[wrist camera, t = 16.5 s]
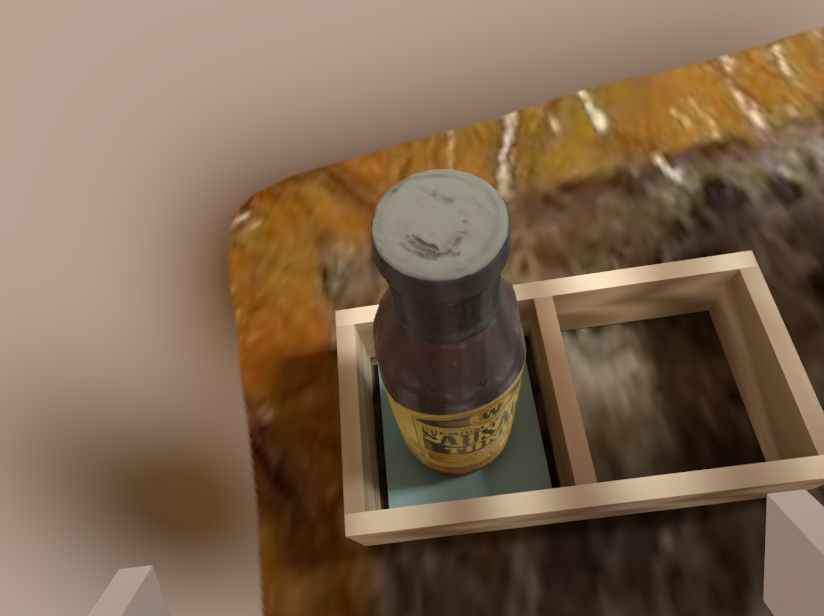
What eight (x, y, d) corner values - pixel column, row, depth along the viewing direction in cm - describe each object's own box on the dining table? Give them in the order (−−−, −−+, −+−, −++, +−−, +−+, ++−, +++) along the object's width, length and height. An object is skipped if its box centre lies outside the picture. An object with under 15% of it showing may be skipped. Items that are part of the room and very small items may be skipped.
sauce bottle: (438, 502, 32) (374, 377, 14) (385, 408, 35) (276, 209, 17) (537, 440, 33) (591, 252, 15) (477, 353, 36) (464, 111, 18)
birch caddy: (719, 293, 36) (751, 250, 32) (798, 493, 30) (851, 474, 26) (353, 345, 37) (335, 311, 33) (365, 546, 32) (345, 536, 27)
